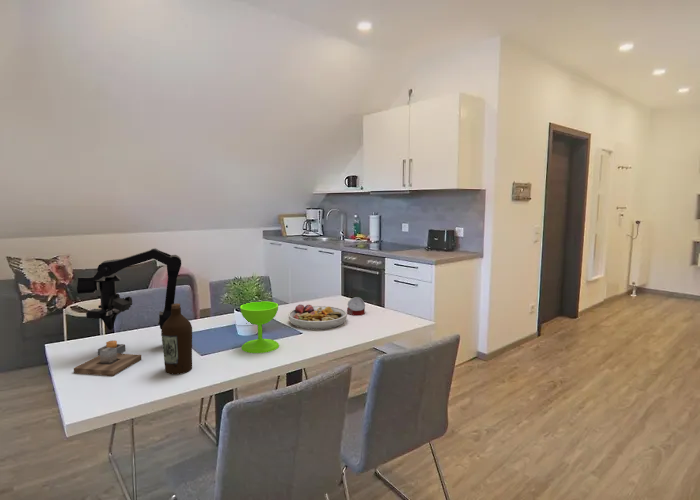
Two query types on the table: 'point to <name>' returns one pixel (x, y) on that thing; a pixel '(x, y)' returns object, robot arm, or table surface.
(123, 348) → the button housing
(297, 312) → the bowl
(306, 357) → the table surface
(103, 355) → the metal billet
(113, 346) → the button
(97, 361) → the walnut pallet
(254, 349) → the wineglass
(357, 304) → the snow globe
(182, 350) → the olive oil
